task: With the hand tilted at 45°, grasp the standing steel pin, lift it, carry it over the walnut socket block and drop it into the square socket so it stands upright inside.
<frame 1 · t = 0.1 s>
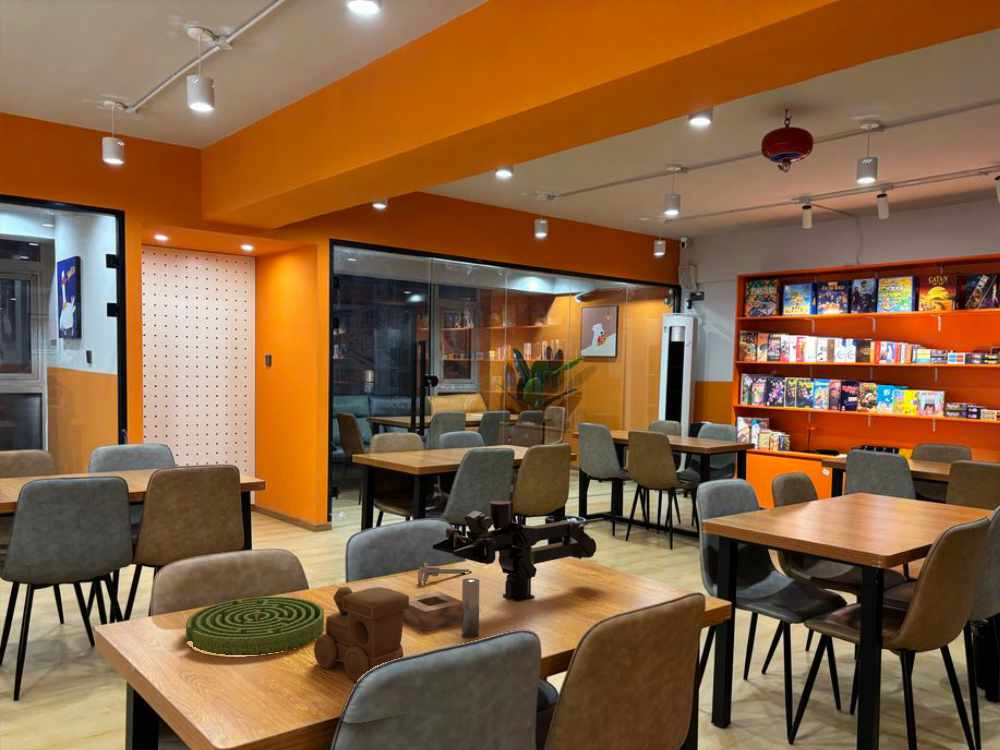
hand: (442, 550, 198), 17 cm above the table, tool horizontal, fingers open, 9 cm apart
caliper: (445, 579, 233), on the table
wooden toy train: (359, 670, 163), on the table
steel pin: (470, 635, 184), on the table
socket block: (432, 618, 196), on the table
maze: (256, 635, 184), on the table
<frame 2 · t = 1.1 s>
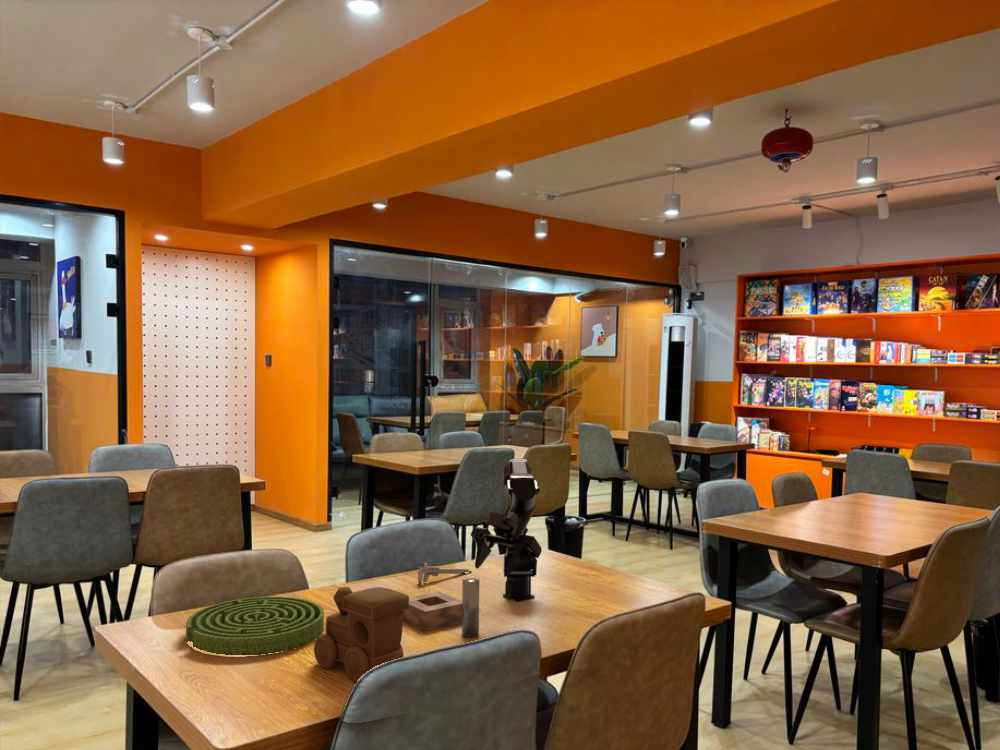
hand: (490, 570, 190), 14 cm above the table, tool tilted 45°, fingers open, 9 cm apart
nothing on the table moved.
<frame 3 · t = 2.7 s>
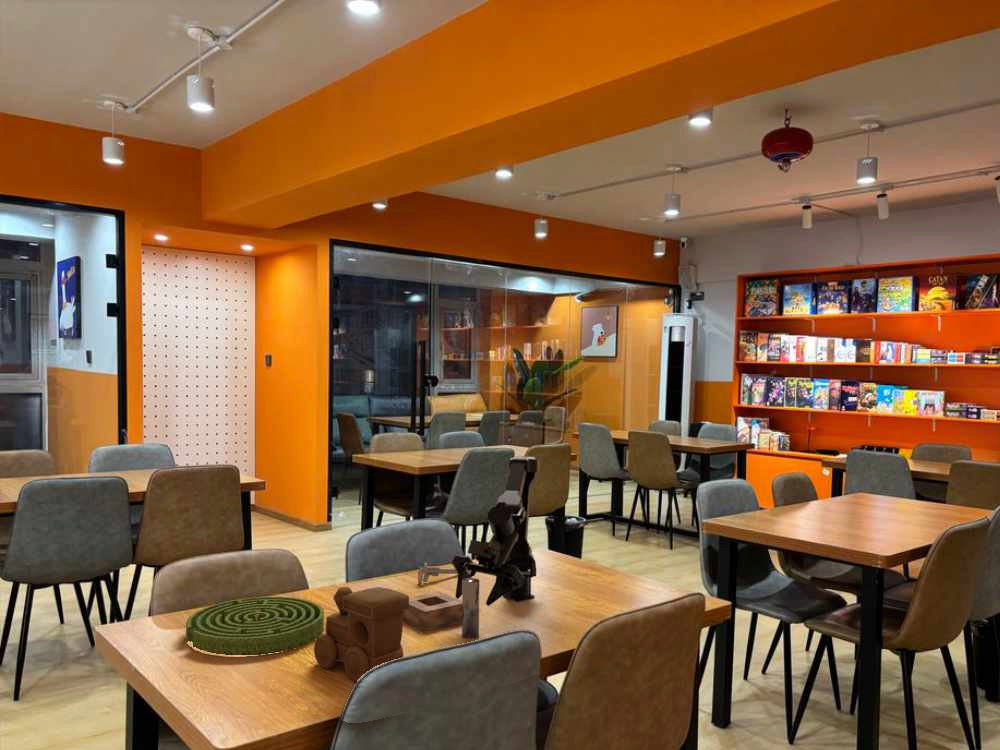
hand: (471, 601, 184), 8 cm above the table, tool tilted 45°, fingers open, 9 cm apart
nothing on the table moved.
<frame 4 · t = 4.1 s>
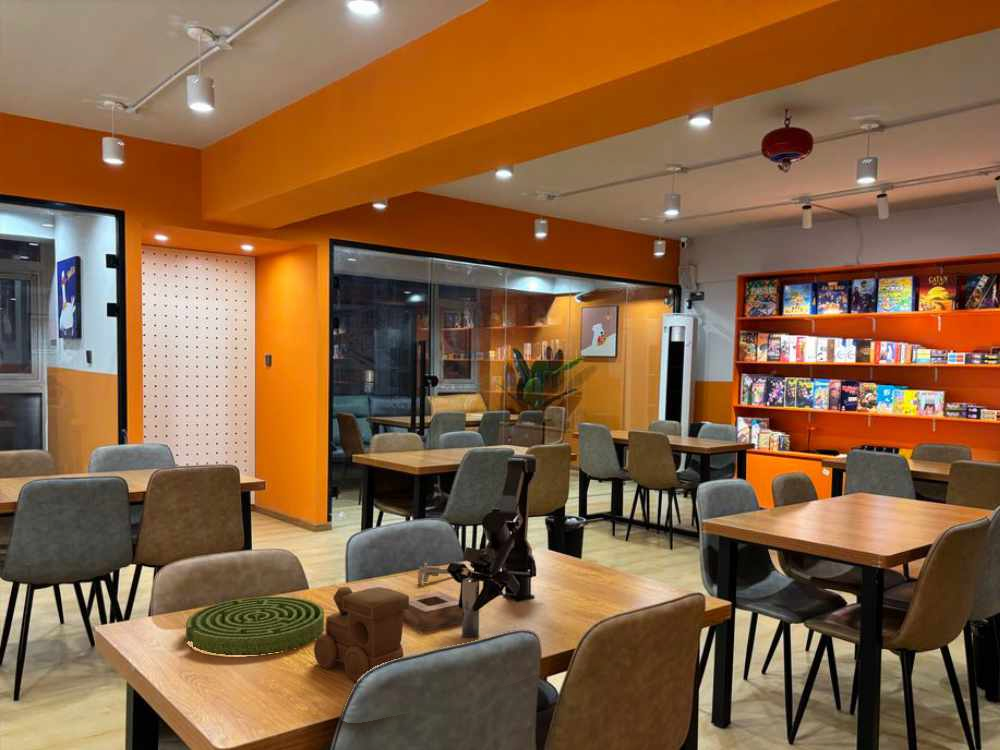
hand: (466, 608, 183), 7 cm above the table, tool tilted 45°, fingers closed on steel pin, 4 cm apart
steel pin: (470, 635, 184), on the table, touching gripper
everything else where it was.
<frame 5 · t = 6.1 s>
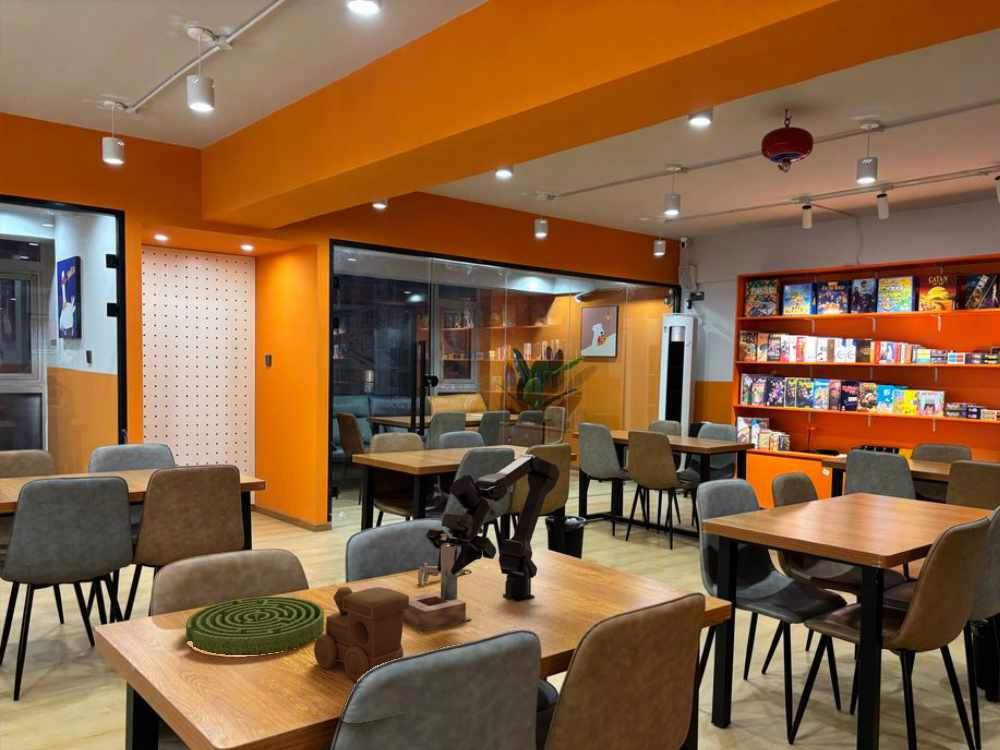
hand: (445, 572, 190), 13 cm above the table, tool tilted 45°, fingers closed on steel pin, 4 cm apart
steel pin: (448, 598, 191), point 7 cm above the table, touching gripper
everything else where it was.
when the fingers open (8 cm above the table, at t = 8.2 s): steel pin drops 1 cm, resting on socket block.
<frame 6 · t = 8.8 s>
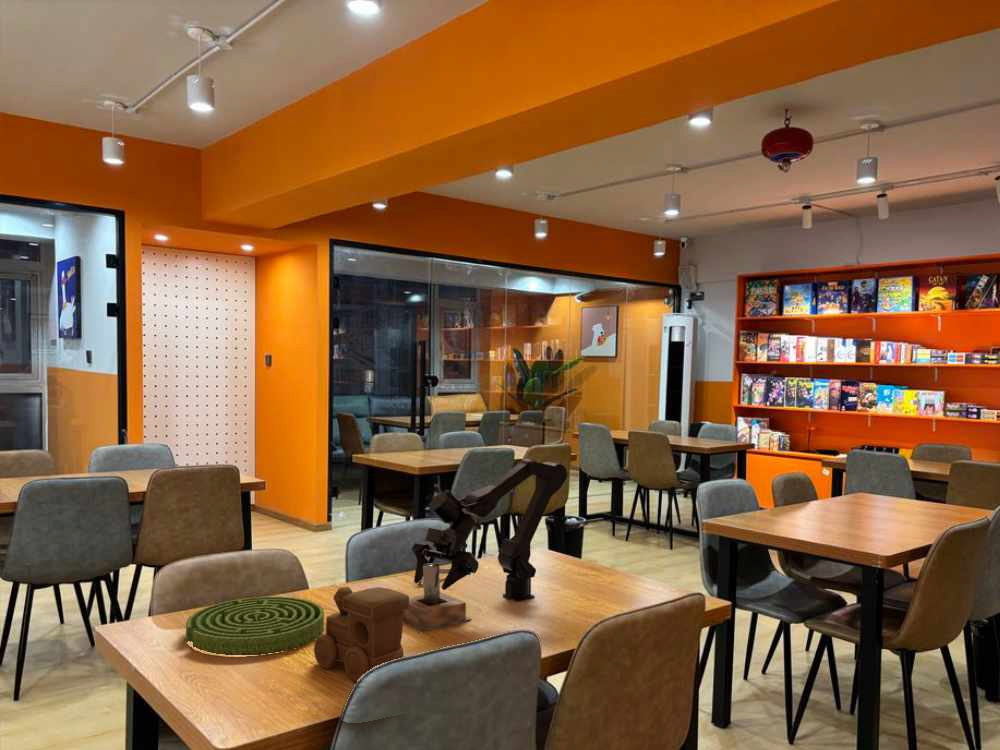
hand: (428, 585, 195), 9 cm above the table, tool tilted 45°, fingers open, 9 cm apart
steel pin: (432, 616, 196), resting on socket block
everything else where it was.
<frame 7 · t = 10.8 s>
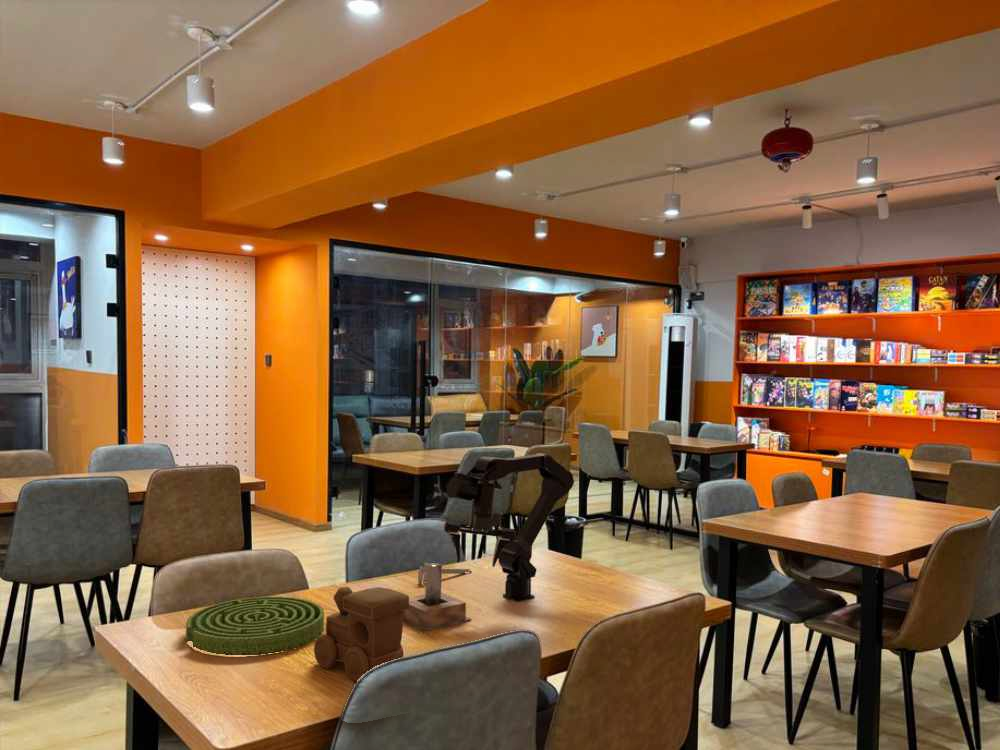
hand: (475, 564, 202), 12 cm above the table, tool tilted 20°, fingers open, 9 cm apart
nothing on the table moved.
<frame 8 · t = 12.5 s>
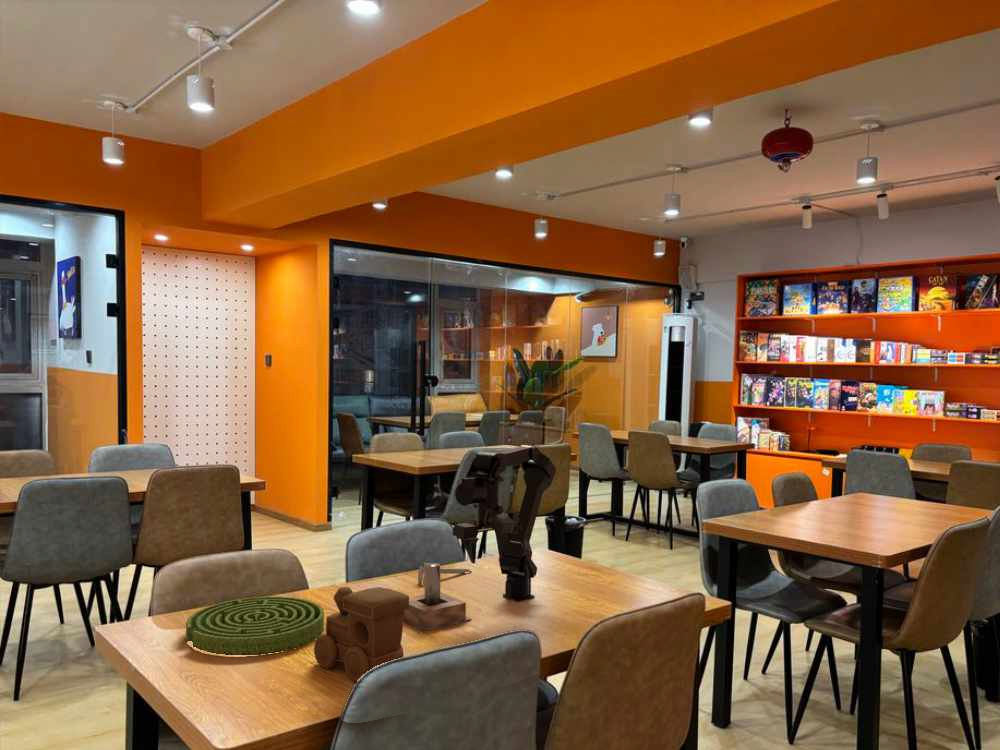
hand: (487, 560, 203), 13 cm above the table, tool pointing down, fingers open, 9 cm apart
nothing on the table moved.
at the end: steel pin 0.1 cm off-centre on the socket block, point 0.4 cm above the socket block's base; steel pin tilted 1°; the gripper is holding nothing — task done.
